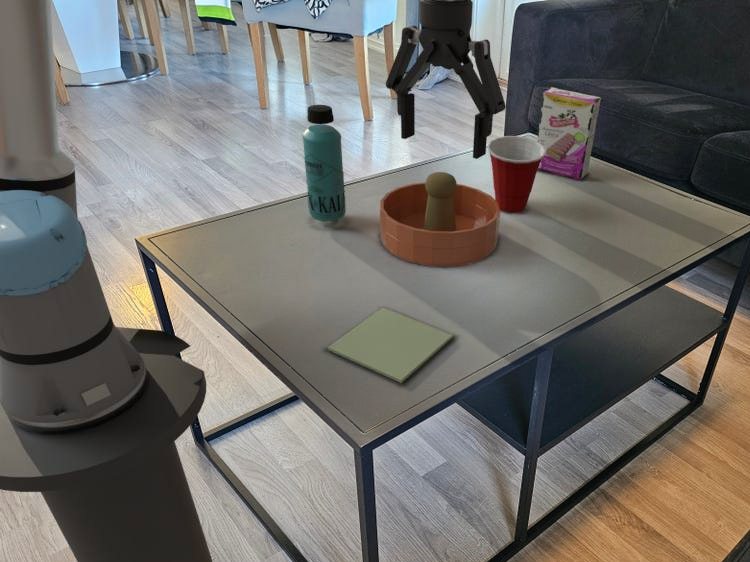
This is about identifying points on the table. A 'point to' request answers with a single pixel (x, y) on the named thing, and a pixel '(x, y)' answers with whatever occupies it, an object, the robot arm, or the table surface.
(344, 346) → the coaster
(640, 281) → the table surface
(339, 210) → the beverage bottle
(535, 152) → the plastic cup
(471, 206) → the bowl
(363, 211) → the table surface
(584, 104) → the candy bar box
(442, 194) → the brown peg doll
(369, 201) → the table surface
